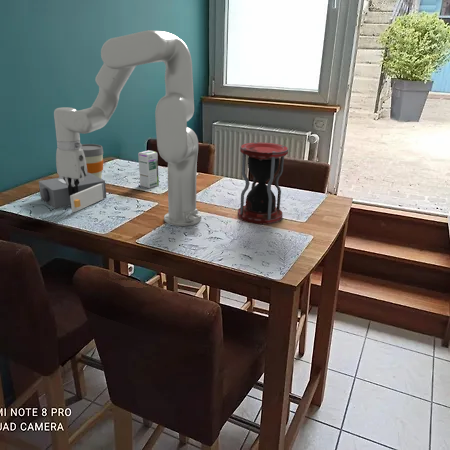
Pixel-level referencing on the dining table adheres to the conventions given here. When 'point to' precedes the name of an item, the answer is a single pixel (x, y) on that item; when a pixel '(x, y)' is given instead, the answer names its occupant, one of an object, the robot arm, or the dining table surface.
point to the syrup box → (148, 168)
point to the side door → (87, 197)
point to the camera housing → (65, 190)
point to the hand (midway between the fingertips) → (73, 195)
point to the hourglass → (262, 182)
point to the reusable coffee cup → (93, 158)
